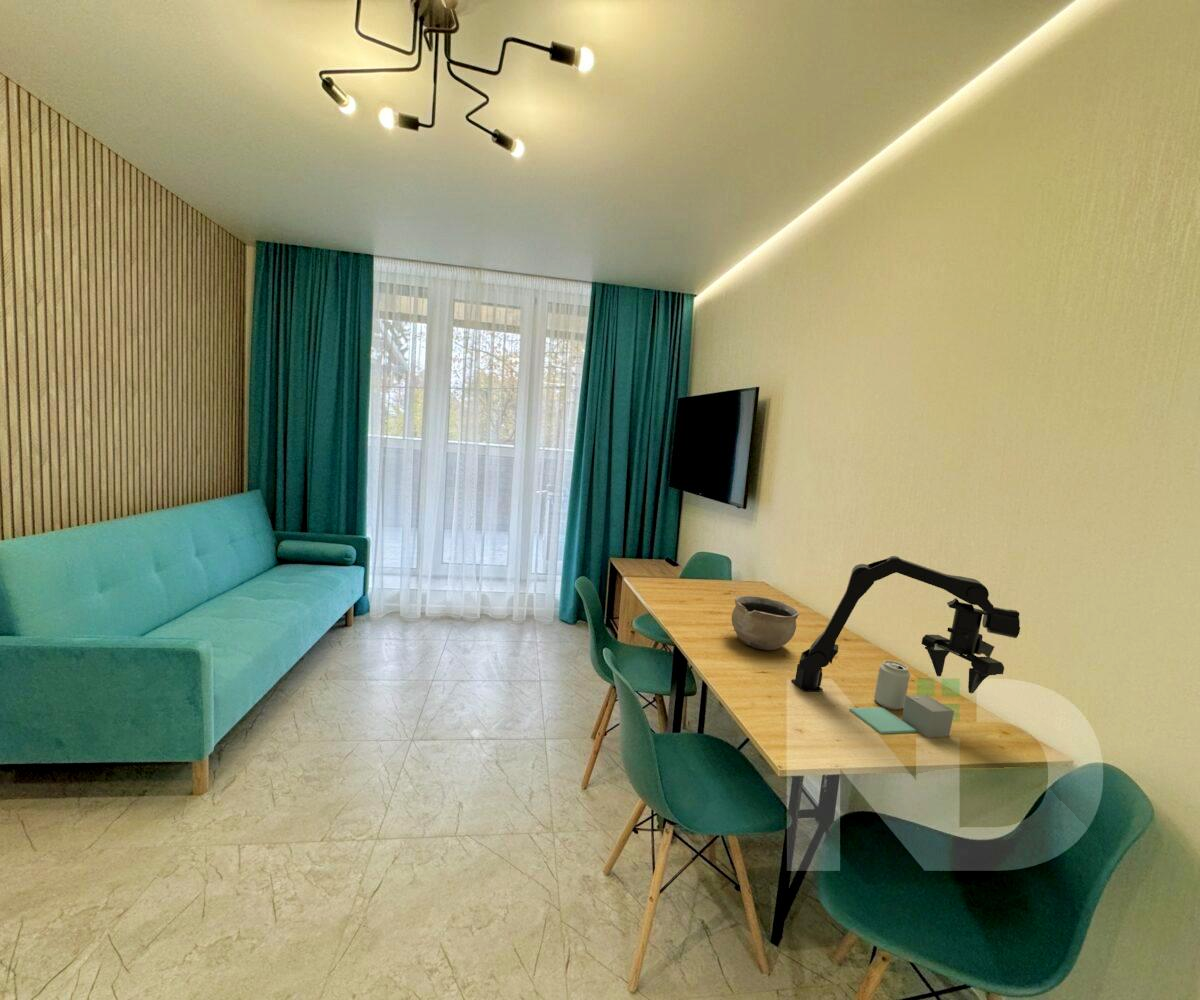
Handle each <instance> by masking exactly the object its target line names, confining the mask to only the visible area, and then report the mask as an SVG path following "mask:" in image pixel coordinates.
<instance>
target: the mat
mask: <svg viewBox="0 0 1200 1000" xmlns="http://www.w3.org/2000/svg"><path fill="white" fill-rule="evenodd" d="M849 712H851V713H852V714H853V715H855V716H856V717H858V718H859V719H860V720H862V721H863V722H864V723H866V724H867V725H868V726H870V727H871V728H872V729H874V730H875V731H877V732H878V733H879V734H881V735H882V734H885V735H886V734H902V733H903V734H907V733H916V732H917V730H916V729H914V728H913V727H911V726H910V725H908V724H907V723H905V722H904V721H902V718H899V717H898V716H896V715H895V714H893V713H892V712H890V711H889V710H887V708H885V707H883V706H882V707H878V706H877V707H854V708H853V707H852V708H851V707H850V708H849Z"/></svg>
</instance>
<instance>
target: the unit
mask: <svg viewBox="0 0 1200 1000" xmlns="http://www.w3.org/2000/svg"><path fill="white" fill-rule="evenodd" d="M954 713H955V710H953V709H951V708H950V707H948V706H946V705H945V704H944V703H942V702H940V701H938V700H937V699H935V698H933V697H931V696H929V695H927V694H922V695H921V694H918V695H917V694H915V695H914V694H912V695H911V694H910V695H906V699H905V704H904V707H903V711H902V714H901V715H902V717H901V720H902V721H904V722H905V723H907V724H908V725H910V726H911V727H913V728H914V729H916V732H918V733H920V734H921V735H922V736H924V737H925V738H928V739H929V738H948V737H950V734H951V730H952V723H953V718H954Z"/></svg>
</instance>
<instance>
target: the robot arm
mask: <svg viewBox="0 0 1200 1000" xmlns="http://www.w3.org/2000/svg"><path fill="white" fill-rule="evenodd" d="M896 573H897V574H899V575H903V576H906V577H908V578H911V579H913V580H916V581H920V582H922V583H924V584H928V585H931V586H934V587H936V588H938V589H942V590H944V591H946V592H948V593H949V594H951V595H953V596H955V597H956V598H953V600H950V601H947V602H946V605H947V606H948V607H949V608H951V609H954V615H953V620H952V623H951V624H952V625H951V627H947V630H946V631H947V632H948V633H949V634H950V635H949V638H946V637H945V636H942V635H940V634H925V635H923V637H922V638H921V645H922V646H924V649H925V650H926V651H927V652H928V656H929V658H930V660H931V663H932V665H933V669H934V672H935V674H936V676H937V677H942V674H943V672H944V666H945V661H946V658H947V656H948V655H949V653H951V654H954V655H955V656H958V657H960V658H962V659H964V660H966V661H969V662H970V665H971V667H970V668H968V681H967V682H968V687H967V688H968V693H969V694H974V693H975V692H976V690H977V689H978V687H979V686H981V683H983V682H984V680H985V679H986V678H987V677H989V676H997V675H1004V671H1005V666H1004V664H1003V662H1001V661H999V660H997V659H995V658H992V657H991V655H992V654H993V651H994V649H995V646H994V645H992V644H990V643H988V642H986V641H984V640H983V634H981V633H980V629H981V624H982V627H983V628H984V629H986V632H987V633H988V634H989V633H990V634H994V635H999V636H1004V637H1007V638H1013V639H1017V638H1018V637H1019V635H1020V632H1021V631H1020V630H1021V627H1020V624H1021V623H1020V612H1019V611H1018V610H1016V609H1005V608H1001V607H997V606H996V607H995V606H994V605H993V603H991V601H990V600H989V595H990V594H989V593H990V592H989V590H988V588H987V587H986V586H985V585H984V584H983V583H982V582H980V580H977V578H976V579H974V578H973V577H972V578H970V577H966V576H960V575H954V574H953V575H951V574H947V573H943V572H940V571H937V570H935V569H932V568H929V567H926V566H923V565H921V564H917V563H914V562H911V561H909V560H905V559H902V557H901V558H900V556H896V555H890V556H889V557H887V558H885V559H881V560H877V561H875V562H871V563H868V564H865V563H859V564H855V566H854V567H853V568H852V570H851V573H850V577H849V580H848V583H847V587H846V591H845V592H844V595H843V596H842V598H841V600H840V601H839V602H838V605H837V607H836V609H835V610H834V612H833V613H832V616H831V617H830V620H829V621H828V623H827V624H826V627H825V629H824V631H823V632H822V633H820V634H819V635H818V636H817V637H816V639H815V640H814V641H813V643H812V644H811V645H810V647H809V648H808V649H806V650H805V651H802V652H801V655H800V658H799V662H798V664H797V668H796V671H795V679H794V678H793V679H791V680H790V681H791V682H792V683H793V684H794V685H796V686H797V687H798V688H800V689H801V690H802V692H823V691H824V690H823V687H821V684H822V678H823V668H825V667H827V666H828V665H829V664H831V665H832V664H833V659H834V658H835V656H837V654H838V653H839V644H836V642H837V639H838V637H839V636H840V634H841V633H842V630H843V628H844V627H845V626H846V623H847V621H848V620H849V618H850V616H851V614H852V612H853V610H854V608H855V606H856V605H857V603H858V601H859V600H860V599H862V597H863V596H864V595H865V594H866V593H867V592H868V591H869V590H870V588H871V587H872V586H873V585H874V583H875V582H877V581H879V580H883V579H884V578H886V577H888V576H891V575H893V574H896ZM958 599H960V600H962V601H964V602H962V601H961V602H960V601H959V600H958ZM974 606H978V607H979V608H976V607H974ZM979 655H985V656H979Z"/></svg>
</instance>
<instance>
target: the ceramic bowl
mask: <svg viewBox="0 0 1200 1000" xmlns="http://www.w3.org/2000/svg"><path fill="white" fill-rule="evenodd" d="M734 603H735V607H733V610H732V613H731V624H732V627H733V629H734V632H735V634H736V636H738V637H737V638H739V639H740V640H741V642H743V643H744V644H745V645H747V646H750V647H751V648H754V649H758V650H764V651H773V650H774V651H775V650H778V649H780V648H781V647H783V646H786V644H788V643H789V642H790V641H791V640H792V638H793V637H794V635H795V634H796V630H797V619H798V616H799V615H800V612H799V611H798V610H797V609H796V608H794V607H793V606H790V605H789V604H788V605H787V604H786V603H784V602H781V601H778V600H774V599H771V598H767V597H762V596H752V595H751V596H750V595H740V596H735V598H734Z"/></svg>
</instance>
